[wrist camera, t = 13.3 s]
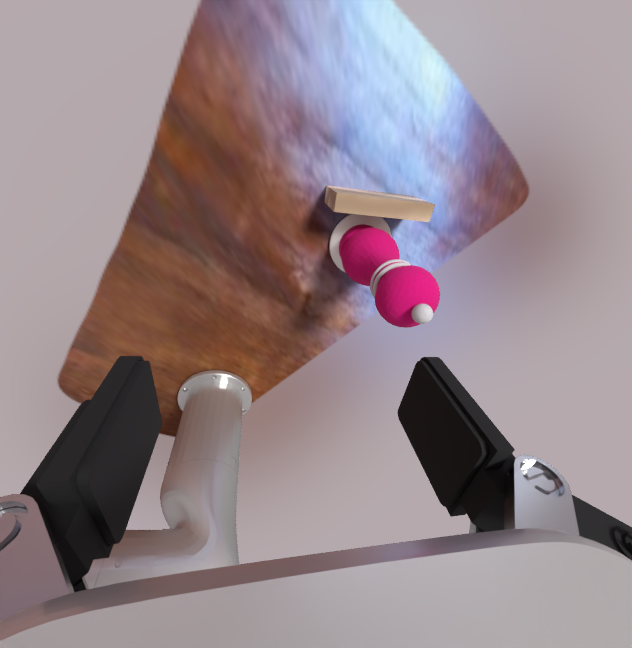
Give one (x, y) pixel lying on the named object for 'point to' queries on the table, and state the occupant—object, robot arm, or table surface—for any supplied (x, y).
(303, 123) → the table surface
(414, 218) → the oak rail
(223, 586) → the robot arm
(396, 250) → the pepper mill
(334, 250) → the coaster
